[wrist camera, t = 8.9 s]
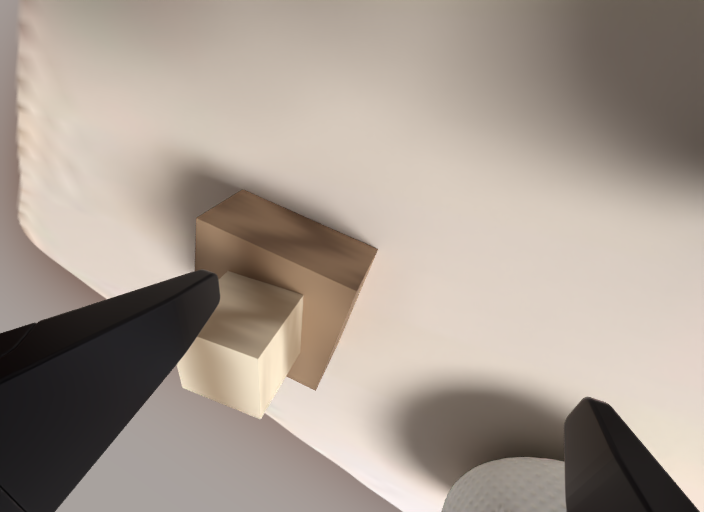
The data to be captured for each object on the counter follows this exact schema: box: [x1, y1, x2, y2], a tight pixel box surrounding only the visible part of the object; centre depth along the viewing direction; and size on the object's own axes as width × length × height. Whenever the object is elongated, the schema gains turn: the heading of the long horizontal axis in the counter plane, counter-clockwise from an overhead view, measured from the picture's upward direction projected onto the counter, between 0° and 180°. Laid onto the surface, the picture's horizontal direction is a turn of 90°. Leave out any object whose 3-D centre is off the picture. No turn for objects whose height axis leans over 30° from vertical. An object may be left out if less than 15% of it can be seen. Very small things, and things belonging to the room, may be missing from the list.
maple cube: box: [177, 271, 304, 419], centre depth 20 cm, size 5×5×5 cm
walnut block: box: [195, 190, 378, 391], centre depth 24 cm, size 10×10×5 cm
